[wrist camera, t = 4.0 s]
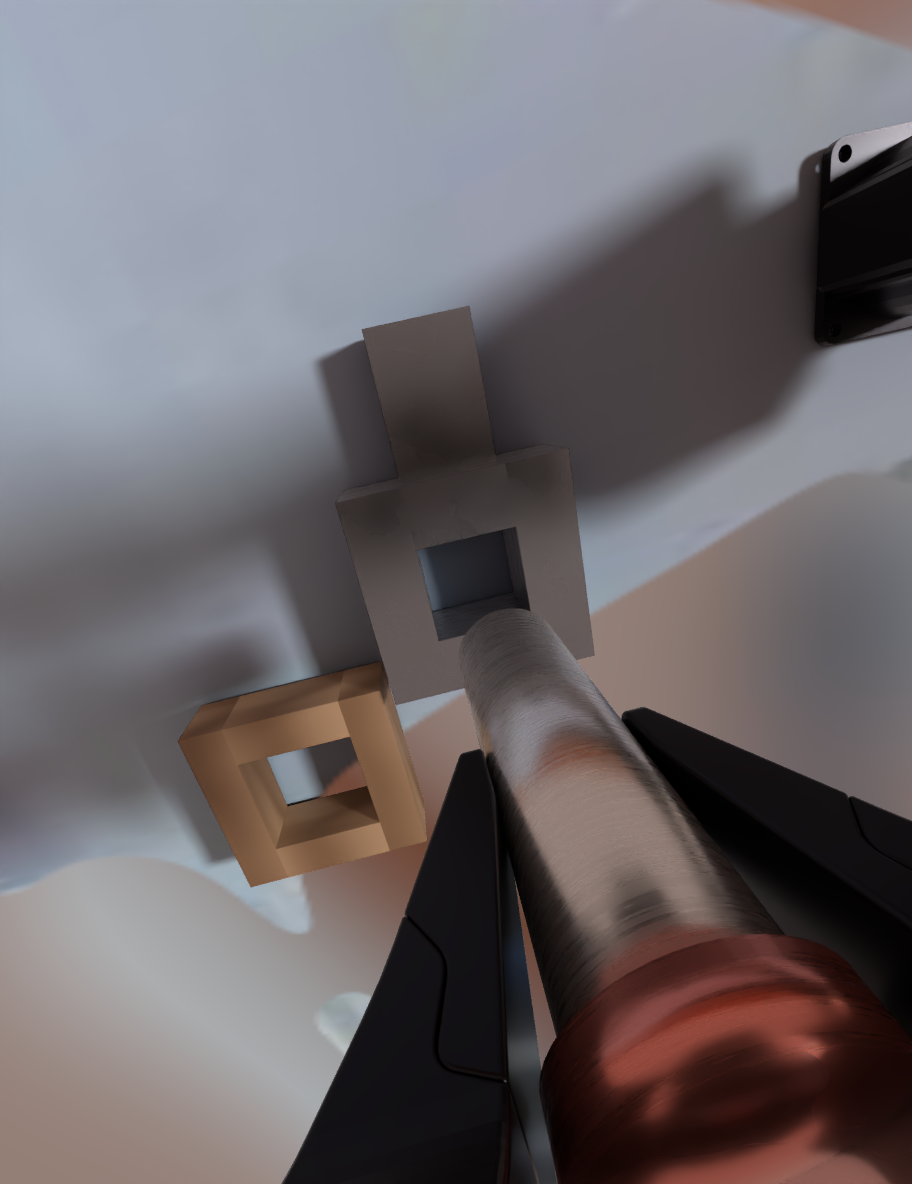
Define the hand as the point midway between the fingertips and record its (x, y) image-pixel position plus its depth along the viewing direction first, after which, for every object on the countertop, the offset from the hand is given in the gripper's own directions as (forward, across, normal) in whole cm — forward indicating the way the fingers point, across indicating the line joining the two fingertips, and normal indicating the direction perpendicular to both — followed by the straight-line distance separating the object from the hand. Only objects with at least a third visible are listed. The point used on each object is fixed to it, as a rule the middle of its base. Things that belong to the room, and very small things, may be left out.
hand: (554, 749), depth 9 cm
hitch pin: (+4, 0, 0) cm, 4 cm away
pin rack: (+12, +8, +8) cm, 17 cm away
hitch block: (+12, 0, -2) cm, 13 cm away
